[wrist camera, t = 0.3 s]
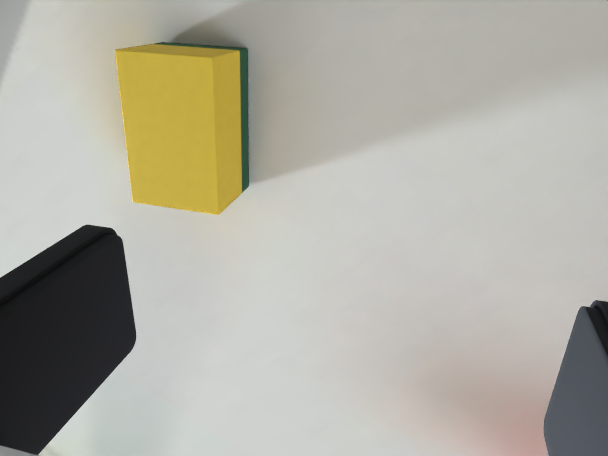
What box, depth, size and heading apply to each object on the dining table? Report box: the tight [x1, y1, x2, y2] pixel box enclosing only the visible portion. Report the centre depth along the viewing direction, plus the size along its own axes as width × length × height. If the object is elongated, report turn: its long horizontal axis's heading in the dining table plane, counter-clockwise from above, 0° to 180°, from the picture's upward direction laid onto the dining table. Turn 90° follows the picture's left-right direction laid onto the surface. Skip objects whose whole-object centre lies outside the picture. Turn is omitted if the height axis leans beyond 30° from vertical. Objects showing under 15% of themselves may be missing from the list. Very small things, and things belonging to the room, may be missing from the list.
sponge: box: [115, 42, 249, 215], centre depth 24 cm, size 7×4×4 cm, turn 178°
